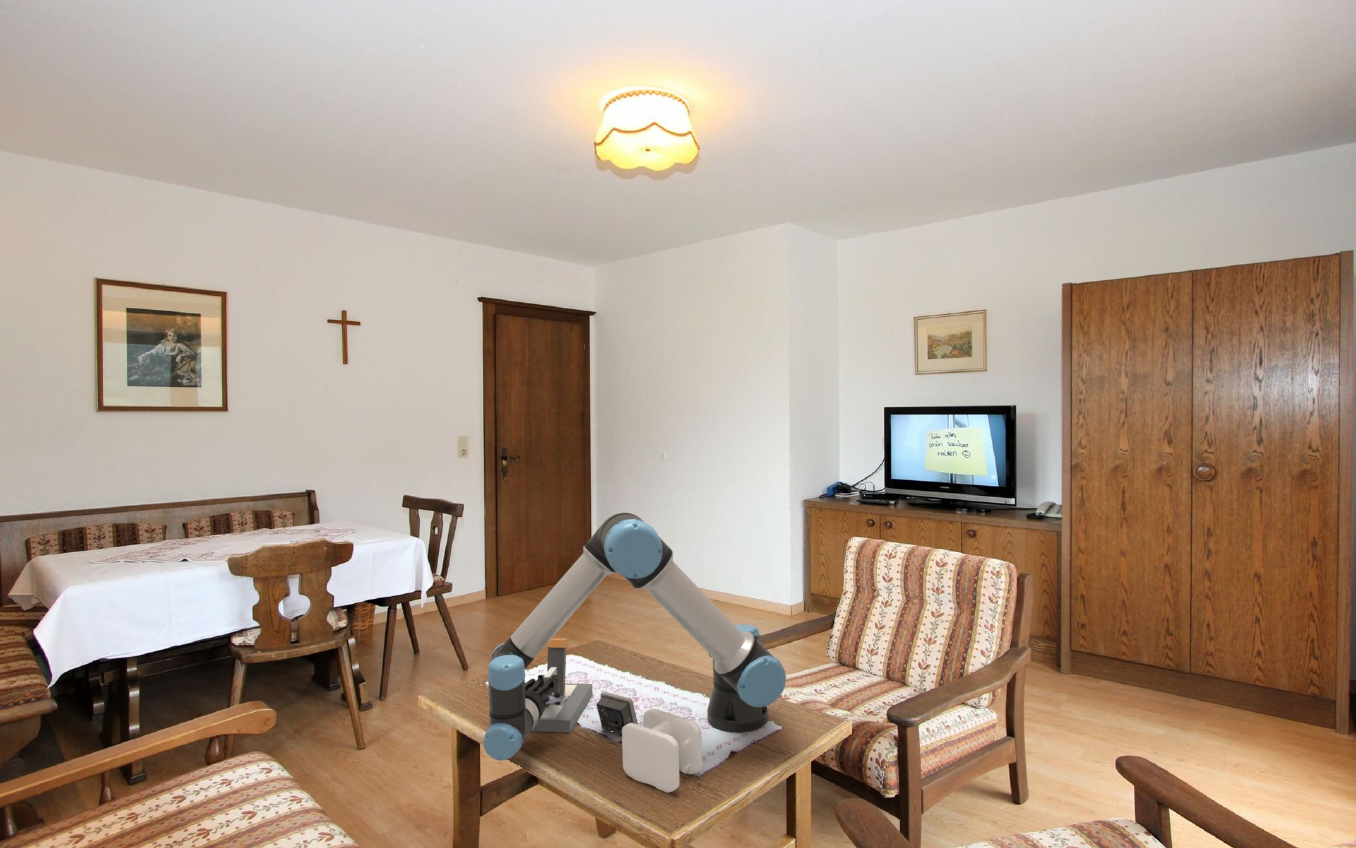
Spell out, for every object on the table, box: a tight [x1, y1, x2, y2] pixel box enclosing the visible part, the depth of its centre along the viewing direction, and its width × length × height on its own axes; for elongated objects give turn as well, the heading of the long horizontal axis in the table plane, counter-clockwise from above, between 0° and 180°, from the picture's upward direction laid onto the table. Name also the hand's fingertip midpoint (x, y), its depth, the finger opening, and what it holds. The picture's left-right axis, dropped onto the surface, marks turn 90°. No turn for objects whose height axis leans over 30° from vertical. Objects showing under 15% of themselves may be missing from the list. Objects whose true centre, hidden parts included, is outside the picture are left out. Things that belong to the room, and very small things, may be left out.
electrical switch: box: [595, 691, 639, 735], centre depth 170 cm, size 9×5×9 cm, turn 57°
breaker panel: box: [531, 682, 594, 734], centre depth 182 cm, size 22×14×4 cm, turn 173°
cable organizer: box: [621, 708, 703, 794], centre depth 149 cm, size 15×11×12 cm
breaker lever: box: [546, 638, 569, 696], centre depth 184 cm, size 2×5×14 cm, turn 82°
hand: (553, 672), depth 182 cm, fingers closed
